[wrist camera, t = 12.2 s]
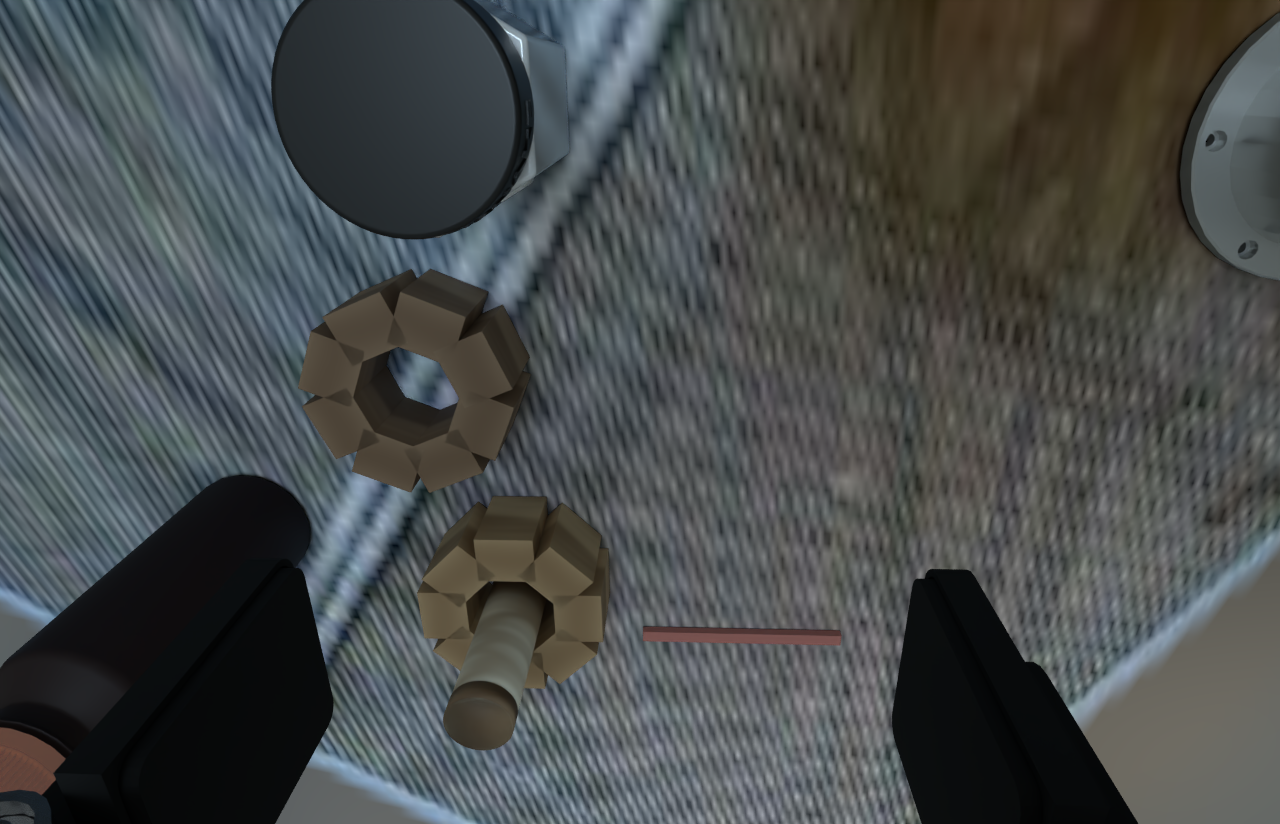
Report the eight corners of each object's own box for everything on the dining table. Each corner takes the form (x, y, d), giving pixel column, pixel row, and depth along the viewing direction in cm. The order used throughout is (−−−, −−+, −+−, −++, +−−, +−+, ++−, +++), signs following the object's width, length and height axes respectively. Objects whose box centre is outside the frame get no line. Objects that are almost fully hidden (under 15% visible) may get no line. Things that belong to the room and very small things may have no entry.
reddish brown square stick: (839, 630, 46) (841, 636, 46) (838, 639, 47) (840, 645, 46) (643, 626, 47) (643, 632, 46) (643, 635, 47) (643, 641, 47)
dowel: (552, 546, 45) (510, 697, 34) (555, 591, 46) (516, 751, 35) (498, 545, 45) (439, 696, 34) (502, 590, 46) (447, 749, 35)
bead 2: (606, 497, 43) (598, 541, 39) (611, 636, 47) (605, 690, 43) (433, 495, 44) (408, 538, 40) (453, 633, 48) (432, 685, 44)
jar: (458, 228, 38) (367, 291, 27) (354, 73, 35) (205, 72, 24) (612, 131, 35) (581, 155, 24) (513, -43, 33) (430, -103, 22)
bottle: (240, 582, 47) (-41, 902, 29) (177, 492, 45) (-174, 779, 26) (333, 552, 46) (103, 867, 27) (274, 457, 43) (-22, 735, 25)
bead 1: (471, 242, 38) (445, 262, 34) (558, 412, 41) (544, 449, 37) (304, 316, 40) (261, 344, 36) (401, 472, 43) (371, 514, 39)
